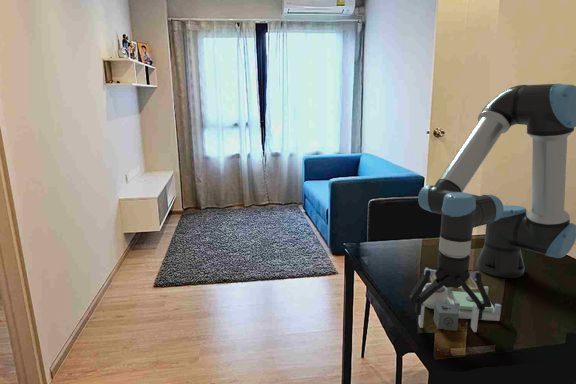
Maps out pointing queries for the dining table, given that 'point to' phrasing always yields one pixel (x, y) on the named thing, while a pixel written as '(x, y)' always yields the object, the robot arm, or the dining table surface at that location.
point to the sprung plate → (467, 300)
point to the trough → (469, 282)
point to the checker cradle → (468, 313)
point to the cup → (436, 297)
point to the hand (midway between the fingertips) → (446, 327)
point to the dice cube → (446, 316)
